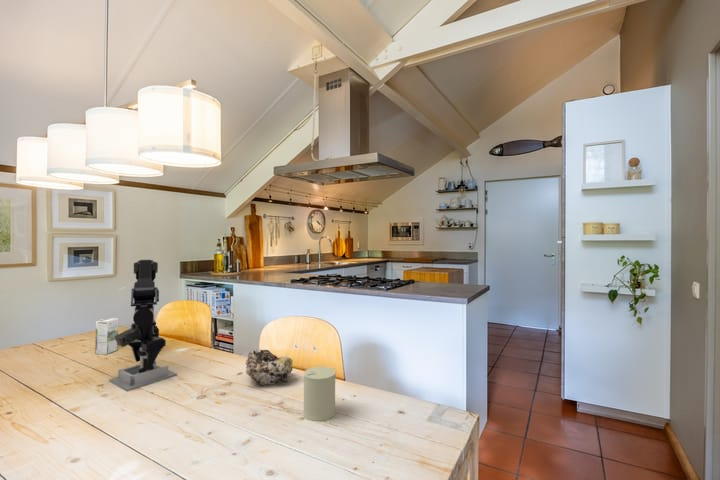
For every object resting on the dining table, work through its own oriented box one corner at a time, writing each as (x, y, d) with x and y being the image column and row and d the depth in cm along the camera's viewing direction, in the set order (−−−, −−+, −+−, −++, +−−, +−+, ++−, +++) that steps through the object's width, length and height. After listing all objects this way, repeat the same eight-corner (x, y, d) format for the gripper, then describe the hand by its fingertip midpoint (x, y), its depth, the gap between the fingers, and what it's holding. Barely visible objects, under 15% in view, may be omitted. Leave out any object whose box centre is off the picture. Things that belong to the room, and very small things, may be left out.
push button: (140, 380, 116) (140, 351, 116) (129, 377, 118) (129, 349, 118) (157, 373, 122) (157, 345, 122) (146, 371, 124) (147, 343, 124)
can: (299, 408, 99) (300, 367, 99) (329, 402, 103) (330, 363, 103) (307, 424, 91) (308, 379, 91) (340, 417, 94) (340, 374, 94)
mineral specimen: (257, 370, 128) (257, 344, 128) (300, 375, 123) (300, 348, 123) (231, 387, 113) (231, 357, 113) (278, 394, 108) (279, 363, 108)
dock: (109, 381, 117) (109, 370, 117) (157, 367, 130) (157, 357, 130) (127, 391, 109) (127, 380, 109) (176, 375, 123) (177, 365, 123)
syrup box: (106, 349, 150) (106, 317, 150) (118, 350, 150) (118, 317, 150) (94, 354, 145) (95, 320, 145) (107, 354, 144) (107, 320, 144)
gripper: (106, 320, 118) (106, 365, 118) (130, 328, 108) (130, 377, 108) (141, 315, 128) (141, 356, 128) (166, 322, 117) (166, 367, 117)
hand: (143, 364), depth 120 cm, fingers open, 9 cm apart
